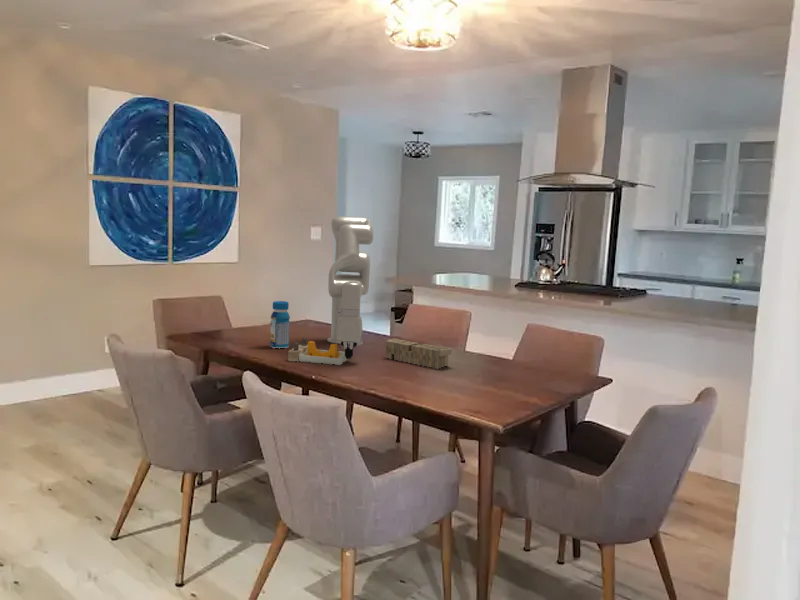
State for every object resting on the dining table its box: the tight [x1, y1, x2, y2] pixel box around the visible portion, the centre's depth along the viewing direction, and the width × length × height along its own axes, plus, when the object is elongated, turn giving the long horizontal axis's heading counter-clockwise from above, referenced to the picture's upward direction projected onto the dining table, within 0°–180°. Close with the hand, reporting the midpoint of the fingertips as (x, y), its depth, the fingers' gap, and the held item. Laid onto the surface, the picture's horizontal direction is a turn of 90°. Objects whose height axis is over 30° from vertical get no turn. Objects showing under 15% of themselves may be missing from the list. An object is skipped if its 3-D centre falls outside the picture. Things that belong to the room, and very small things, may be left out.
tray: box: [298, 349, 348, 366], centre depth 258 cm, size 14×17×2 cm
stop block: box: [287, 337, 308, 362], centre depth 260 cm, size 16×4×7 cm, turn 169°
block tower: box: [385, 338, 453, 369], centre depth 261 cm, size 8×8×29 cm
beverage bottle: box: [269, 300, 291, 350], centre depth 277 cm, size 8×8×20 cm
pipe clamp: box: [307, 340, 339, 358], centre depth 257 cm, size 12×4×6 cm, turn 71°
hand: (348, 358), depth 256 cm, fingers closed
